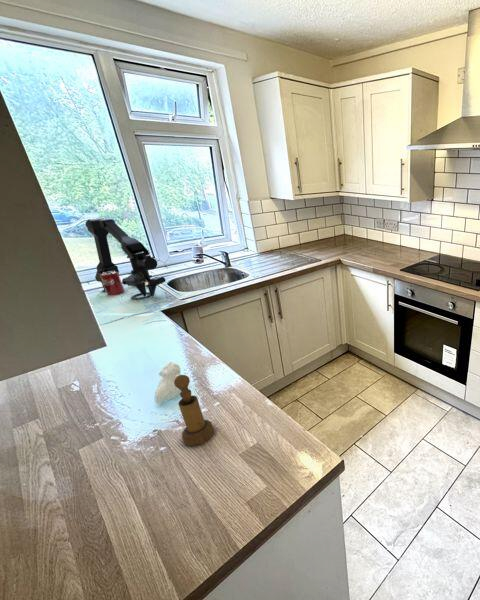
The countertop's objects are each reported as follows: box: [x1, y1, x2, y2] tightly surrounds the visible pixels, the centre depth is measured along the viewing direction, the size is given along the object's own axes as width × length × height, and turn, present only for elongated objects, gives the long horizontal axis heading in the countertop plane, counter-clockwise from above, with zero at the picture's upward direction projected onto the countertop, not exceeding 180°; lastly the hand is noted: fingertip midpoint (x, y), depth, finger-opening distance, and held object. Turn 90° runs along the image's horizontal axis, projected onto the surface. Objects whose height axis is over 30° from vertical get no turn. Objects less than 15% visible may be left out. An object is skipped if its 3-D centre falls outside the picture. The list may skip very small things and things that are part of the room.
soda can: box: [100, 271, 126, 296], centre depth 172 cm, size 7×7×12 cm
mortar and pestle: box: [174, 374, 214, 447], centre depth 79 cm, size 7×6×18 cm
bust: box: [154, 361, 182, 405], centre depth 96 cm, size 12×8×11 cm
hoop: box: [130, 291, 152, 301], centre depth 169 cm, size 9×9×2 cm
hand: (148, 296), depth 169 cm, fingers open, 4 cm apart
